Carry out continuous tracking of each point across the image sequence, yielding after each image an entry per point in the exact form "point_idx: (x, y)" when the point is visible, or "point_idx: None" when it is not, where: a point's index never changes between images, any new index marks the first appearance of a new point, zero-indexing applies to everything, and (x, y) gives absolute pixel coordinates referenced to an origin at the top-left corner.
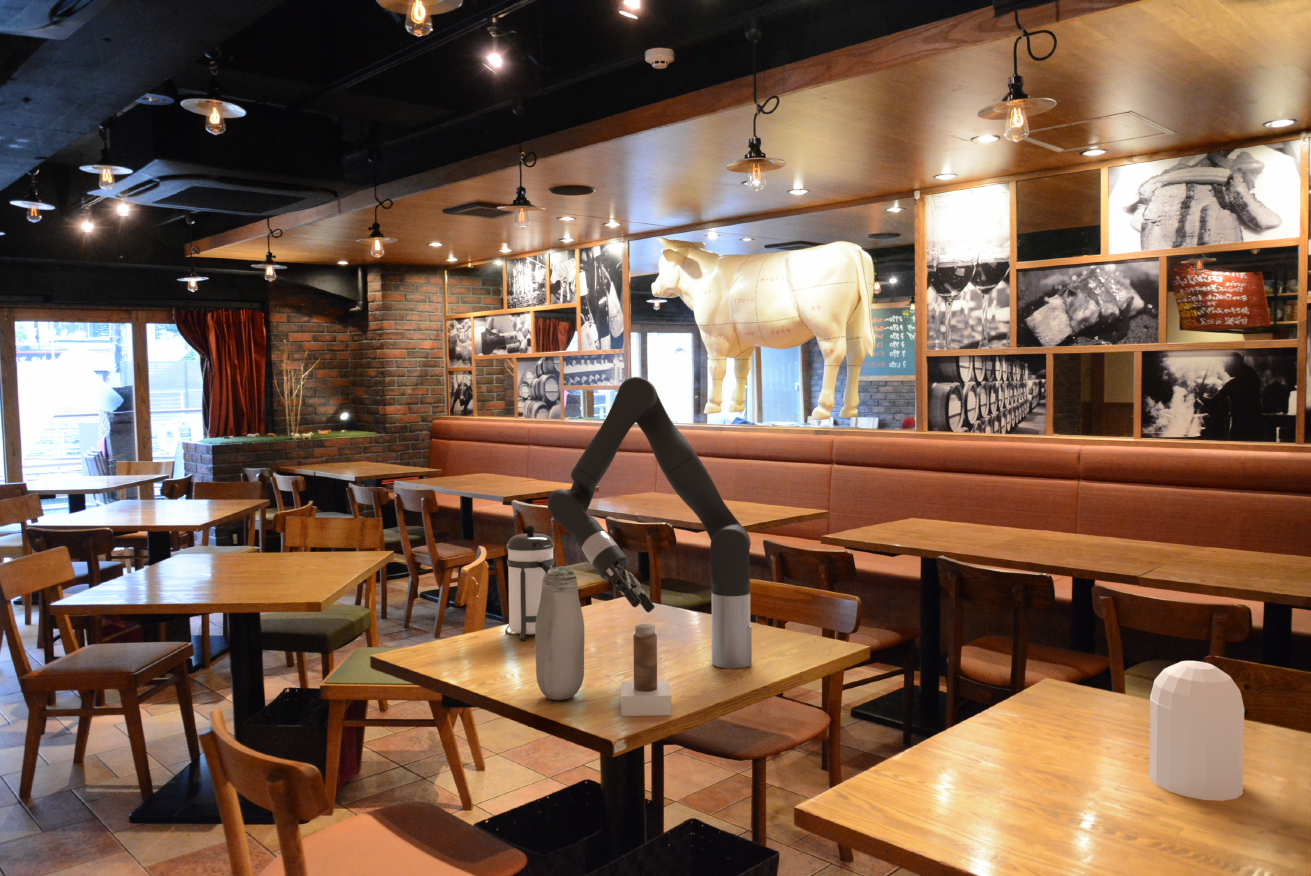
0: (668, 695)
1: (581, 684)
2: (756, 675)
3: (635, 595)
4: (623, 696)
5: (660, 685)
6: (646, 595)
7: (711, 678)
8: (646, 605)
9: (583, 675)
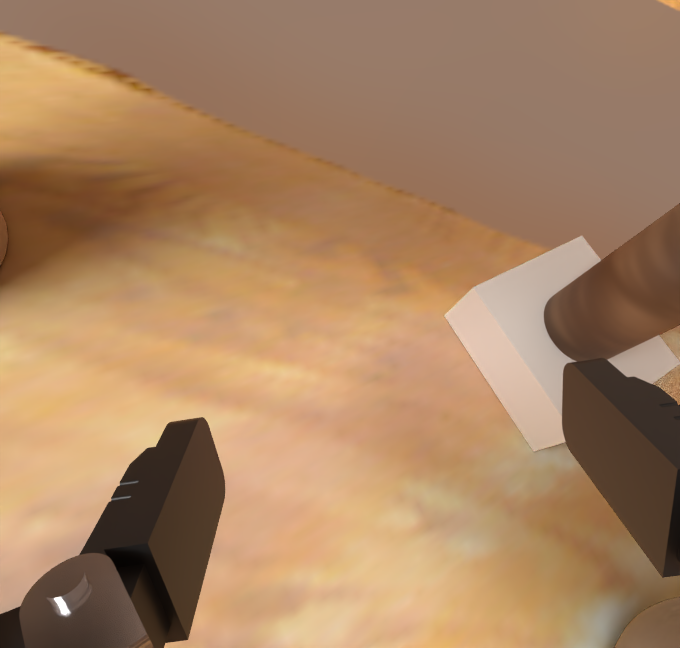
0: (584, 242)
1: (651, 606)
2: (70, 138)
3: (647, 406)
4: (675, 356)
5: (529, 294)
6: (108, 542)
7: (165, 262)
8: (201, 504)
9: (672, 605)
